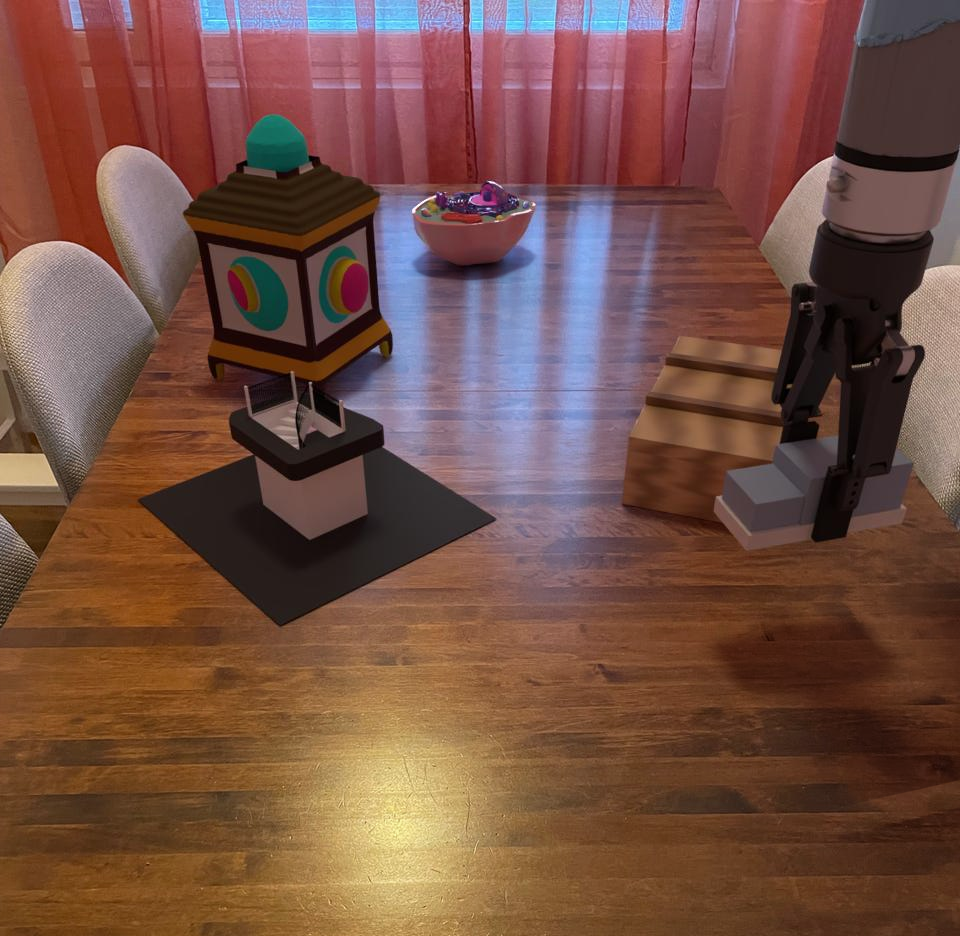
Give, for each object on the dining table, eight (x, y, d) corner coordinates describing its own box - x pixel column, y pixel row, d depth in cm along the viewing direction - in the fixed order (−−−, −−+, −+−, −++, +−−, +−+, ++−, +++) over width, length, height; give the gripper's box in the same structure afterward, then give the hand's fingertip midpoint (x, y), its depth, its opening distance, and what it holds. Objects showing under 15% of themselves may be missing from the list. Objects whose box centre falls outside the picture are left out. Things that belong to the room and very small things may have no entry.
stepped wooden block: (803, 418, 118) (819, 346, 112) (775, 533, 99) (793, 454, 93) (671, 397, 122) (680, 327, 116) (621, 504, 103) (629, 427, 98)
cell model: (395, 253, 161) (391, 180, 154) (501, 234, 168) (502, 163, 161) (441, 288, 150) (439, 210, 142) (553, 265, 157) (556, 190, 149)
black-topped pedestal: (496, 519, 101) (498, 400, 93) (280, 626, 88) (258, 500, 79) (340, 421, 117) (329, 313, 109) (137, 500, 104) (106, 383, 95)
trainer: (862, 486, 84) (878, 427, 81) (902, 523, 80) (922, 462, 76) (713, 511, 82) (723, 451, 78) (746, 551, 77) (758, 489, 74)
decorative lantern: (408, 353, 132) (395, 104, 112) (325, 416, 118) (294, 146, 99) (286, 326, 139) (254, 87, 119) (195, 382, 125) (141, 124, 106)
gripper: (759, 189, 72) (714, 465, 87) (910, 281, 58) (826, 590, 73) (850, 180, 73) (790, 453, 88) (1019, 267, 59) (914, 573, 74)
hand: (806, 514), depth 81 cm, fingers closed on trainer, 6 cm apart
